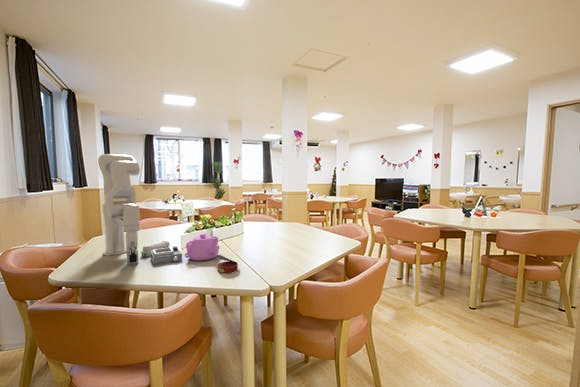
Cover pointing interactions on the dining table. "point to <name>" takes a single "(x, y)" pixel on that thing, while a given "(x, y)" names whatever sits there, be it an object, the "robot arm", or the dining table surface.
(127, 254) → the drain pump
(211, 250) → the teapot
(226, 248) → the dining table surface
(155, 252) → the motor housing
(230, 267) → the canned food
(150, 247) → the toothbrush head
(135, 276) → the dining table surface
